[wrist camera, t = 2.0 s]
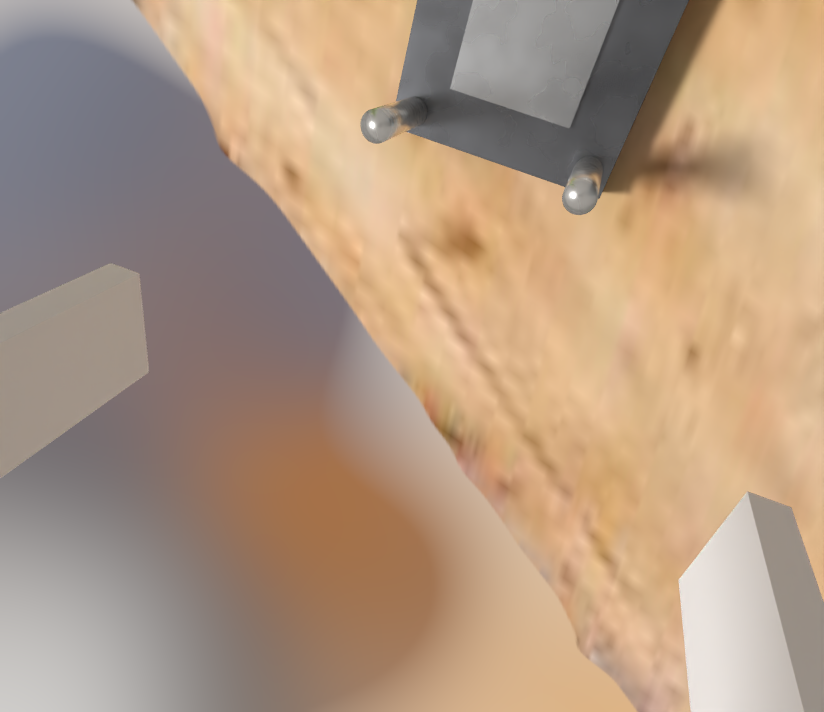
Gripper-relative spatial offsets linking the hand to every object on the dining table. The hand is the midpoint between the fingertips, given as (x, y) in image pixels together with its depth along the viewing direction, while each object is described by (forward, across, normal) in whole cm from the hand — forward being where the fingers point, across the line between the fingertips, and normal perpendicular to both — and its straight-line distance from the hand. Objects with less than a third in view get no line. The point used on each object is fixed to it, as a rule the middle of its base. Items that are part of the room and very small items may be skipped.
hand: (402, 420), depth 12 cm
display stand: (+26, -3, +7) cm, 27 cm away
